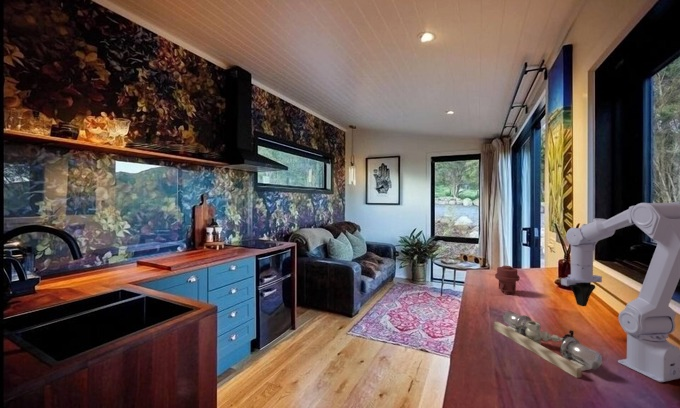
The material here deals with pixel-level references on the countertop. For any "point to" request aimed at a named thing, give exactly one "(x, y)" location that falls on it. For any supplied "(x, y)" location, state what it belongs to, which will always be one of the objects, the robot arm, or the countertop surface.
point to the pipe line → (568, 347)
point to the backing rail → (539, 350)
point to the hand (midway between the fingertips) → (581, 305)
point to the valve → (542, 333)
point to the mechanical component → (507, 279)
